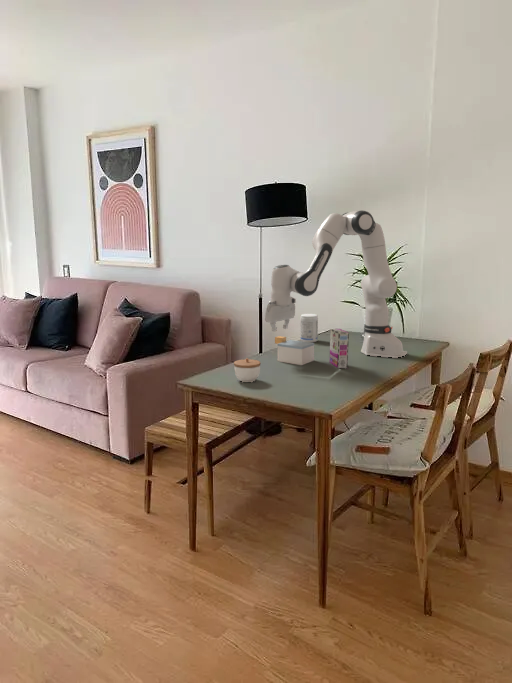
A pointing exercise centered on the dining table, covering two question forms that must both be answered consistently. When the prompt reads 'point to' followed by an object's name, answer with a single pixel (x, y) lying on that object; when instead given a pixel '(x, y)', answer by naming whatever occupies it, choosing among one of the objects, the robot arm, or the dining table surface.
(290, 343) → the lid
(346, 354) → the candy bar box
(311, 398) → the dining table surface
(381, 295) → the robot arm
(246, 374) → the lidded jar
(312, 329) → the supplement tub
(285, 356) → the tub
